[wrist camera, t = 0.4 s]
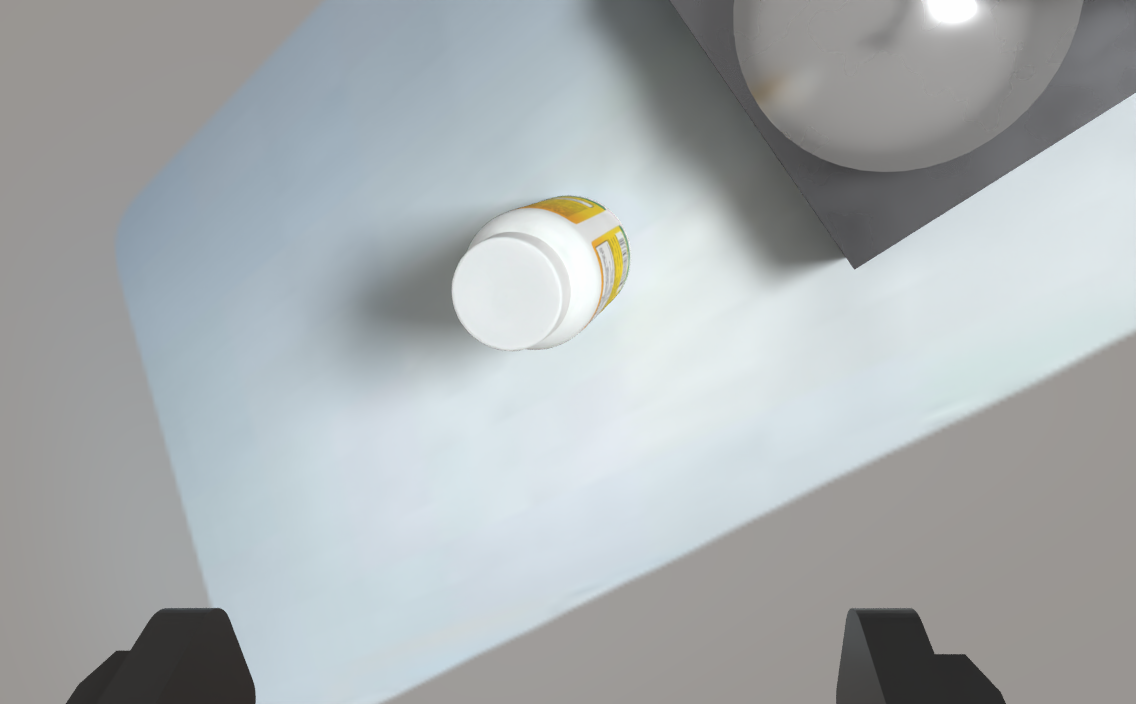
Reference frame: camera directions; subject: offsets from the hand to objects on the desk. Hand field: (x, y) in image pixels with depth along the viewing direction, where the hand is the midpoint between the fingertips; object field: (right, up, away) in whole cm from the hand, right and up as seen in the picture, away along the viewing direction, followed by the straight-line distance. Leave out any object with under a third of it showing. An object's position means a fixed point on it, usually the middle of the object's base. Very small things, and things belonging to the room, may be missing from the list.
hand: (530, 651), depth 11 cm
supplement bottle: (+1, +8, +27) cm, 28 cm away
